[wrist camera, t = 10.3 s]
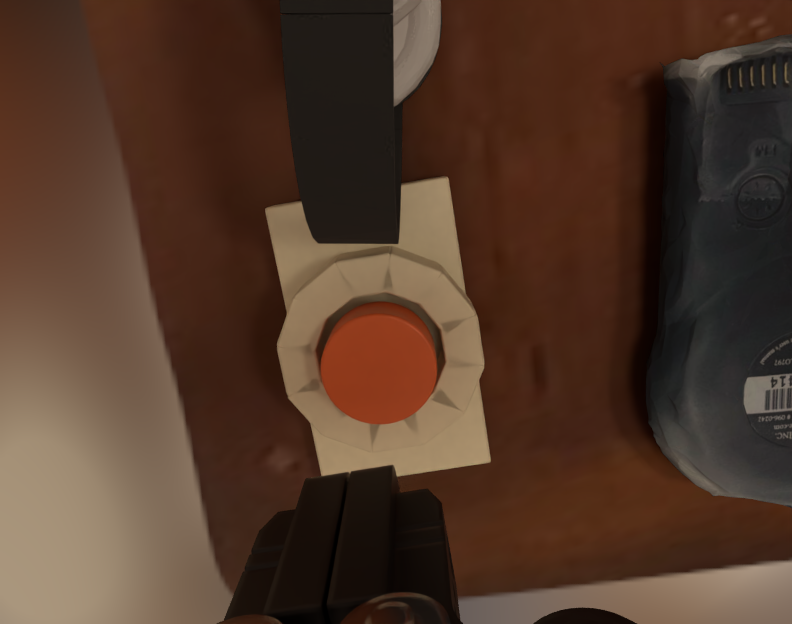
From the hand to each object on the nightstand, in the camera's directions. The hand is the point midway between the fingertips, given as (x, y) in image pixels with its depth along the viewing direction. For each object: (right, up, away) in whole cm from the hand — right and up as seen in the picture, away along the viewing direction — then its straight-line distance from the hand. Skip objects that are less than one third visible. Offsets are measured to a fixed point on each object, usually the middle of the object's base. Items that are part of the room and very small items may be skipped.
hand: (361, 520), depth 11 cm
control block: (0, +3, +12) cm, 13 cm away
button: (0, +2, +10) cm, 10 cm away
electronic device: (+13, +5, +12) cm, 18 cm away
